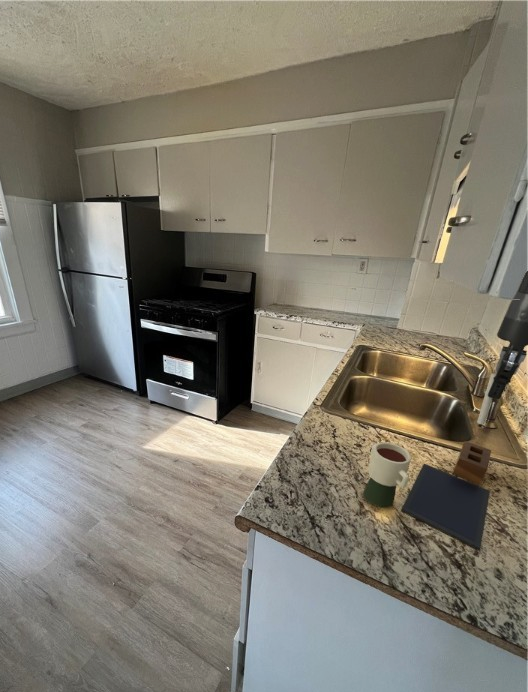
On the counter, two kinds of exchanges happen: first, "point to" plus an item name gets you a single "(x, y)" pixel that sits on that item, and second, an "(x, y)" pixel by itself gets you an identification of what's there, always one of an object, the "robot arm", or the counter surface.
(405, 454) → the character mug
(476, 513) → the tablet
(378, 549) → the counter surface
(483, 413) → the stylus
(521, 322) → the robot arm
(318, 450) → the counter surface
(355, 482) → the counter surface
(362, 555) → the counter surface
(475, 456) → the pen stand
